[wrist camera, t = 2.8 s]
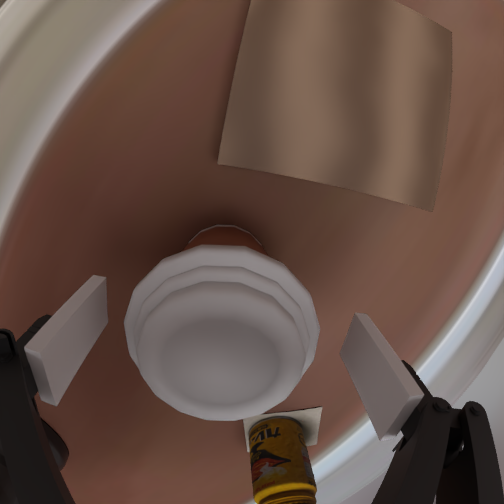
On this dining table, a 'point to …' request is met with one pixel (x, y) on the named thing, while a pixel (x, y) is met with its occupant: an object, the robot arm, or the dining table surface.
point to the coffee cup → (221, 327)
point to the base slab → (342, 97)
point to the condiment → (282, 456)
